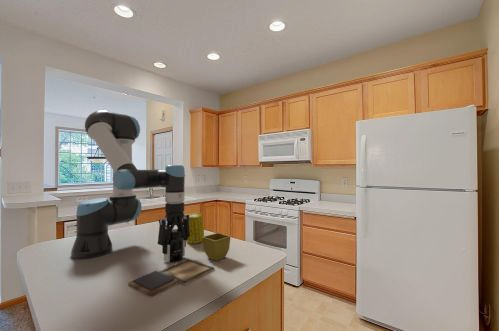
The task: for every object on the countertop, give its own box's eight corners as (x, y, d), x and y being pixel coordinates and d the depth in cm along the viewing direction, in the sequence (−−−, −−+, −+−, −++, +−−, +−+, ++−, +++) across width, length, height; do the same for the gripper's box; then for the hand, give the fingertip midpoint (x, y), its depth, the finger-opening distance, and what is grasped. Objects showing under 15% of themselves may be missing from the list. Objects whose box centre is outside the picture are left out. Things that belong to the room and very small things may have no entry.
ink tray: (128, 285, 74) (128, 282, 74) (156, 273, 82) (156, 270, 82) (150, 297, 67) (150, 293, 67) (178, 282, 75) (178, 279, 75)
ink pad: (133, 281, 74) (133, 280, 74) (155, 272, 81) (155, 270, 81) (151, 291, 69) (151, 289, 69) (173, 280, 75) (173, 278, 75)
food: (206, 245, 118) (186, 249, 113) (200, 234, 128) (181, 237, 123) (207, 217, 114) (187, 220, 110) (200, 208, 124) (181, 211, 120)
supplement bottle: (177, 263, 91) (178, 233, 91) (162, 262, 92) (162, 232, 92) (186, 257, 98) (186, 228, 98) (171, 255, 99) (171, 227, 99)
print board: (157, 274, 82) (157, 271, 82) (188, 261, 93) (188, 258, 93) (184, 285, 74) (184, 282, 74) (214, 269, 85) (214, 267, 86)
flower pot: (201, 258, 97) (201, 236, 97) (217, 252, 103) (217, 232, 103) (214, 264, 91) (214, 241, 91) (231, 257, 97) (231, 236, 97)
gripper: (159, 206, 85) (159, 269, 85) (199, 200, 101) (198, 252, 101) (147, 204, 89) (146, 264, 89) (187, 199, 106) (187, 249, 105)
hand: (174, 258), depth 95 cm, fingers closed on supplement bottle, 7 cm apart
